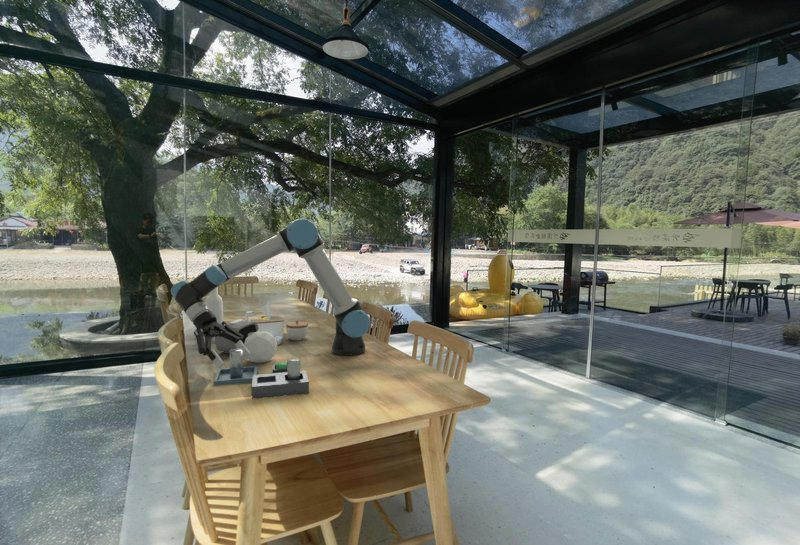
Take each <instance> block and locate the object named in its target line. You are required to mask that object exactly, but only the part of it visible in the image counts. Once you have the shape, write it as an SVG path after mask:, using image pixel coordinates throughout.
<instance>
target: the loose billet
mask: <svg viewBox="0 0 800 545" xmlns="http://www.w3.org/2000/svg"><path fill="white" fill-rule="evenodd" d="M243 358H244V356H243V350H242V349H231V350H230V353H229V368H230V378H231V379H238V378H242V377H243V367H244V360H243Z"/></svg>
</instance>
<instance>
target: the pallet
mask: <svg viewBox="0 0 800 545" xmlns="http://www.w3.org/2000/svg"><path fill="white" fill-rule="evenodd" d="M300 377H301V379H300V380H289V381H287V372H282V373H271V372H270V373H263V374H262V373H261V374H259V373H257V375H253V380H252V382H251V399H252V400H254V399H253V398H257V399H264V398H263V397H267V398H275V397H274V396H277V397H284V396H283V395H287V396H295V394H297V395H303V394H304V395H305V394H306V393H307V394H310V381H309V377H308V373H307V370H300Z"/></svg>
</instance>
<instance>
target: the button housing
mask: <svg viewBox="0 0 800 545" xmlns="http://www.w3.org/2000/svg"><path fill="white" fill-rule="evenodd" d="M276 364H277V363H275V364H272V368H271V369H272V371H271V372H272V373H282V372H287V368H284V369H276Z"/></svg>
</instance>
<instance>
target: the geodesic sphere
mask: <svg viewBox="0 0 800 545" xmlns="http://www.w3.org/2000/svg"><path fill="white" fill-rule="evenodd" d="M244 344H245V345H246V348H247V349H248V350H249V352H250V354H249V355H248V356H247V357H246V358H247V360H248V361H249V362H250V363H257V364H262V363H267V362H270V361H271V360H272V359H273V358H274V357H275V356H276V353H277V349H278V342H277V339H276V338H275V337H274V336H273V335H272V333H271V332H268V331H265V330H261V329H259V330H258V332H252V333H251V332H250V334H248V337H247V338H246V340H245V343H244Z"/></svg>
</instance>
